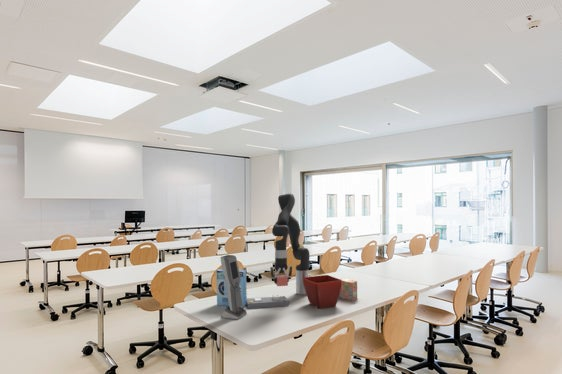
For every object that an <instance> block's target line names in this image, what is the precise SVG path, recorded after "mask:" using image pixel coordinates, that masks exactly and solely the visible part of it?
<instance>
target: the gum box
mask: <svg viewBox="0 0 562 374" xmlns="http://www.w3.org/2000/svg"><path fill="white" fill-rule="evenodd" d="M239 273H240V277H241V282H240V284H239V289H240V294H241V299H242V304H243V308H245V307H247V298H248V297H247V296H248V295H247V269H239ZM224 279H225V278H224V274H223V270H222V268H218V269H217V270H216V305H217V306H224V307H225V306H226V307H228V306H229V301H228V295H227V286H226V282H225V281H224Z"/></svg>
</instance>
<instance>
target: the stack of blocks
mask: <svg viewBox="0 0 562 374" xmlns="http://www.w3.org/2000/svg"><path fill="white" fill-rule="evenodd" d="M339 279H340V280H342V282H341V289H340V294H339V297H338V299H344V300H349V301H356V300H358V281H357V280H353V279H349V278H348V279H347V278H339Z"/></svg>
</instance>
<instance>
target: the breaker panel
mask: <svg viewBox="0 0 562 374" xmlns="http://www.w3.org/2000/svg"><path fill="white" fill-rule="evenodd" d="M279 297H280V300H275V301H273V299H272V296H266V297H265V296H264V297H260V298H261V301H259V302H255V301H254V298H255V297H250V298H248V297H247V305H246V307H247V309H261V308H274V307H289V299H287V297H286V296H285V295H281V296H280V295H279Z"/></svg>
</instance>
